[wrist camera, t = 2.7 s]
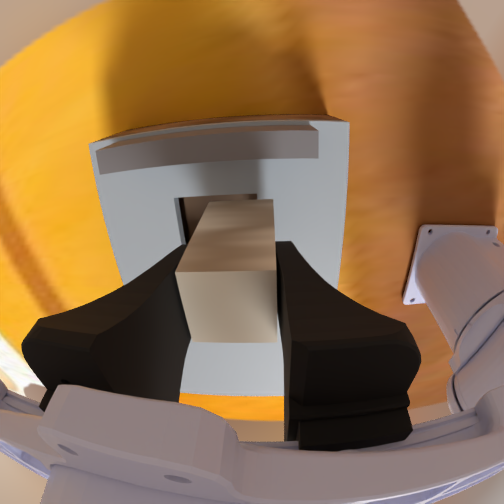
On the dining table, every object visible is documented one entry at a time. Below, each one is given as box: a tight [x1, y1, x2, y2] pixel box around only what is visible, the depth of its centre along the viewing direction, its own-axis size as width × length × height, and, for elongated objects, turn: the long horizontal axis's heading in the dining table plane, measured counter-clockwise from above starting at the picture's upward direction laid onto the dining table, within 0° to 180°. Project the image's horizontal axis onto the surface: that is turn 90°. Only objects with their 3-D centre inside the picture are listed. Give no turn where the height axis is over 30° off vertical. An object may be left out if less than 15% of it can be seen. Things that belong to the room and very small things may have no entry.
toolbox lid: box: [89, 120, 349, 396], centre depth 18 cm, size 14×22×3 cm, turn 3°
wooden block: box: [175, 199, 277, 343], centre depth 12 cm, size 3×3×6 cm
